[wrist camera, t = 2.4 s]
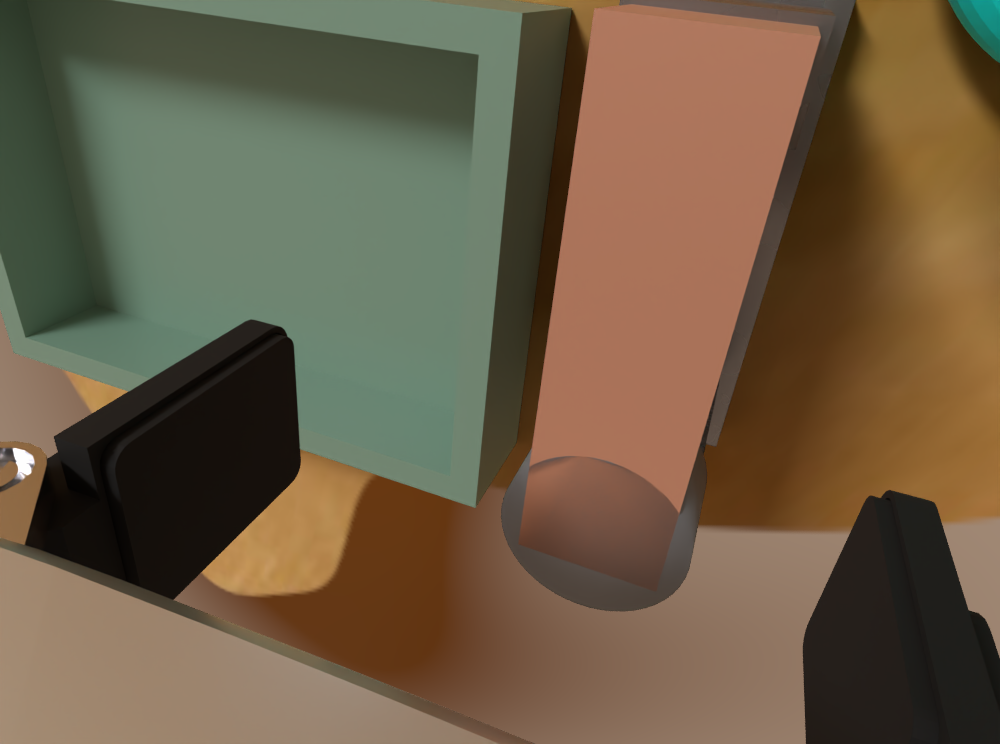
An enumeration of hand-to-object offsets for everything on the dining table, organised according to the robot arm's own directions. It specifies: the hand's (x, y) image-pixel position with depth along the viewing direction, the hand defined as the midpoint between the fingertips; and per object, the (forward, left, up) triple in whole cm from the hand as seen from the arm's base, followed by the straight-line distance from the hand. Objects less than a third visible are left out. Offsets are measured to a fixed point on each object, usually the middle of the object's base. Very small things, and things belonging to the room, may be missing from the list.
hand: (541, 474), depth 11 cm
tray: (+14, +2, -12) cm, 19 cm away
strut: (-1, 0, -7) cm, 7 cm away
